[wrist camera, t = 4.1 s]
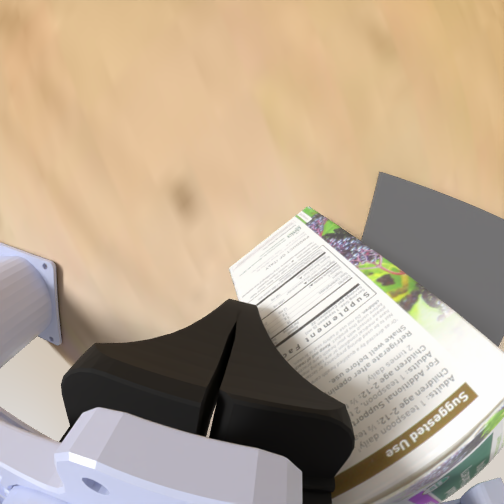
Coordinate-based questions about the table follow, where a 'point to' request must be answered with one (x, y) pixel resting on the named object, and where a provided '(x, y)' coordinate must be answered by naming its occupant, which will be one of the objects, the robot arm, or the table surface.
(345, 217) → the table surface
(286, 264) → the syrup box
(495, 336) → the rubber mat
